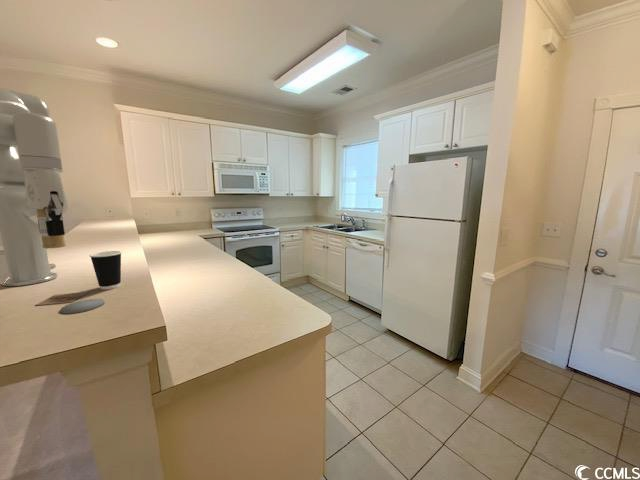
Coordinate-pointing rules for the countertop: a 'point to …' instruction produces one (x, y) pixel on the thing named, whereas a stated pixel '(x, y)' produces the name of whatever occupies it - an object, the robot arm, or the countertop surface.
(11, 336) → the countertop surface
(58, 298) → the tile
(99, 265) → the dixie cup
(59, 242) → the sprinkles bottle
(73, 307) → the coaster
